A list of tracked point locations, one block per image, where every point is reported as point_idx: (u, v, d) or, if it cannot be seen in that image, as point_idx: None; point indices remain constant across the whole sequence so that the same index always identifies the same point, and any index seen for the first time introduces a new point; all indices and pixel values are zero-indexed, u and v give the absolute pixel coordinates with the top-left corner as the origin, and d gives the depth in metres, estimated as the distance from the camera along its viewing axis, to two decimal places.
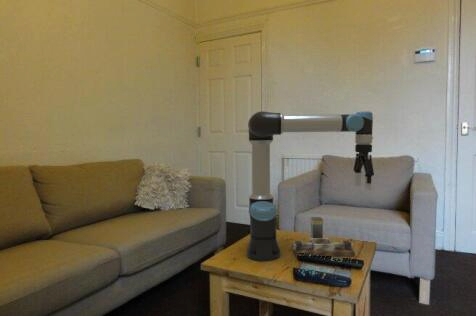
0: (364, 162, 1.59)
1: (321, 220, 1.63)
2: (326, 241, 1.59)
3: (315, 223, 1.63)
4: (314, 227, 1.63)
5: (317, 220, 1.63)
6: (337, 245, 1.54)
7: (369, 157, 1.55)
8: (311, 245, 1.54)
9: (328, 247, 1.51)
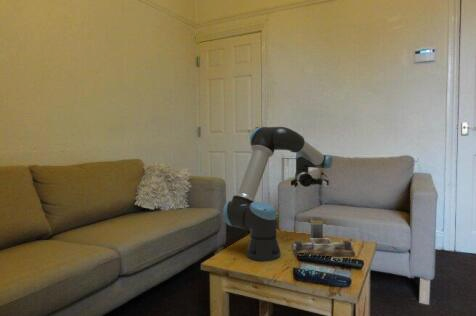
0: None
1: (321, 220, 1.63)
2: (326, 241, 1.59)
3: (315, 223, 1.63)
4: (314, 227, 1.63)
5: (317, 220, 1.63)
6: (337, 245, 1.54)
7: None
8: (311, 245, 1.54)
9: (328, 247, 1.51)
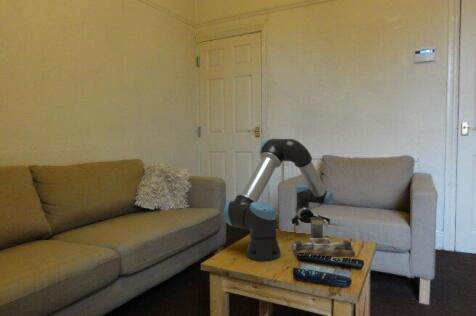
0: None
1: (321, 220, 1.63)
2: (326, 241, 1.59)
3: (315, 223, 1.63)
4: (314, 227, 1.63)
5: (317, 220, 1.63)
6: (337, 245, 1.54)
7: None
8: (311, 245, 1.54)
9: (328, 247, 1.51)
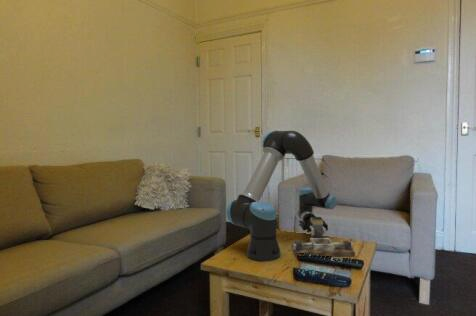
0: None
1: (321, 220, 1.63)
2: (326, 241, 1.59)
3: (315, 223, 1.63)
4: (314, 227, 1.63)
5: (317, 220, 1.63)
6: (337, 245, 1.54)
7: None
8: (311, 245, 1.54)
9: (328, 247, 1.51)
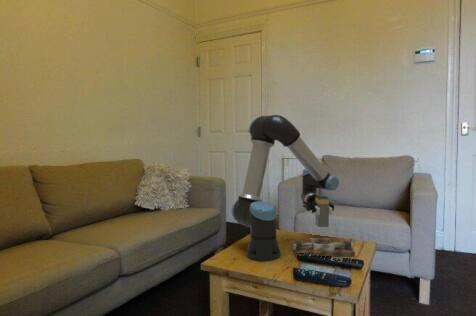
0: None
1: (327, 199, 1.51)
2: (326, 241, 1.59)
3: (321, 202, 1.51)
4: (319, 207, 1.52)
5: (323, 199, 1.51)
6: (337, 245, 1.54)
7: None
8: (311, 245, 1.54)
9: (328, 247, 1.51)
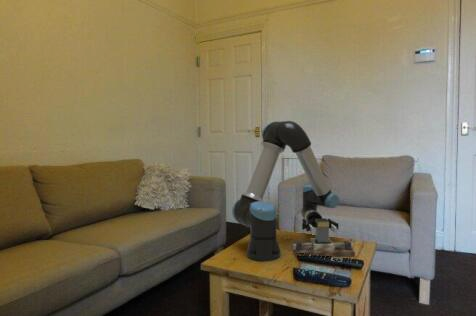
0: None
1: (327, 222, 1.52)
2: None
3: (320, 225, 1.52)
4: (319, 229, 1.52)
5: (323, 222, 1.52)
6: (337, 245, 1.54)
7: None
8: (311, 245, 1.54)
9: (328, 247, 1.51)
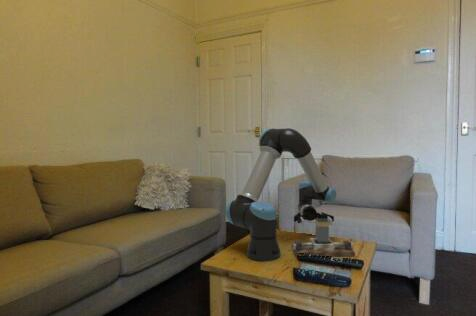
0: None
1: (327, 222, 1.52)
2: None
3: (320, 225, 1.52)
4: (319, 229, 1.52)
5: (323, 222, 1.52)
6: (337, 245, 1.54)
7: None
8: (311, 245, 1.54)
9: (328, 247, 1.51)
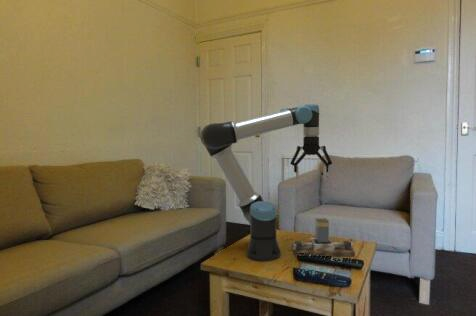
0: (319, 153, 1.66)
1: (327, 222, 1.52)
2: None
3: (320, 225, 1.52)
4: (319, 229, 1.52)
5: (323, 222, 1.52)
6: (337, 245, 1.54)
7: None
8: (311, 245, 1.54)
9: (328, 247, 1.51)
